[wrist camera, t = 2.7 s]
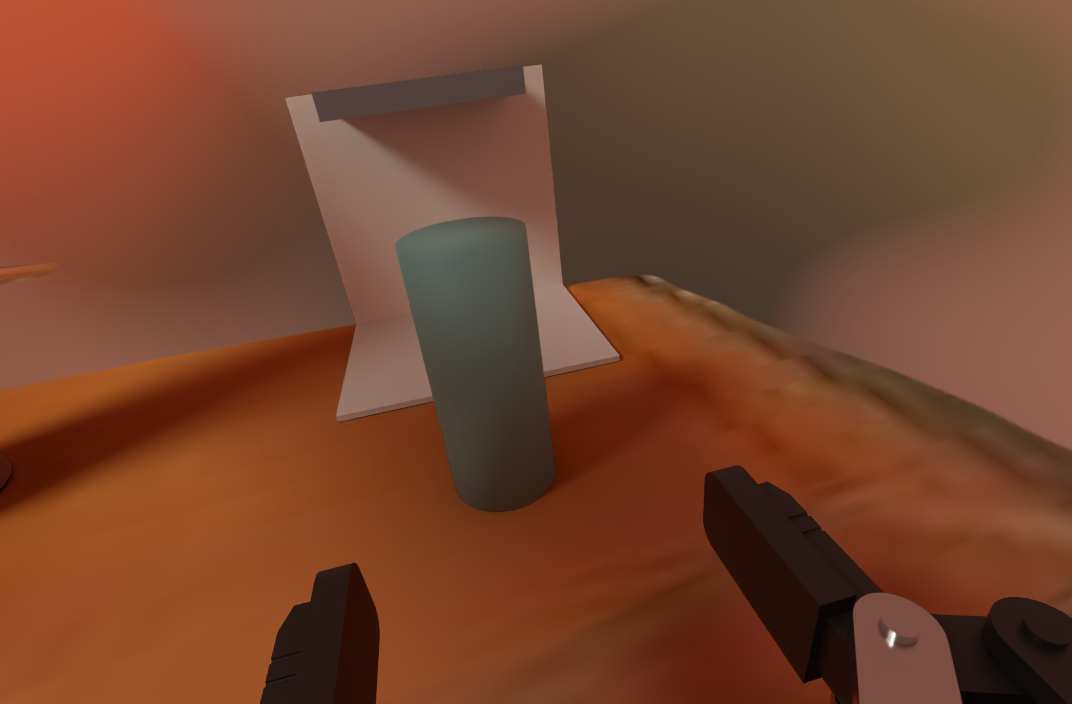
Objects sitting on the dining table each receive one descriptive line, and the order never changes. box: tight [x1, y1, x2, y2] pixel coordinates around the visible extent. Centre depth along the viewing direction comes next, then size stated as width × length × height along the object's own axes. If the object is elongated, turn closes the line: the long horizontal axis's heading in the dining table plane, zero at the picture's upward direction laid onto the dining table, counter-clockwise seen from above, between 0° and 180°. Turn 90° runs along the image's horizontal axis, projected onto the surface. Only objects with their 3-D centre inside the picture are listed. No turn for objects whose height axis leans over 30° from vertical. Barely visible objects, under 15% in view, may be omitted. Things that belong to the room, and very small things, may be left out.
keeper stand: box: [286, 65, 620, 422], centre depth 35 cm, size 18×16×18 cm
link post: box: [395, 217, 556, 512], centre depth 22 cm, size 5×5×12 cm
